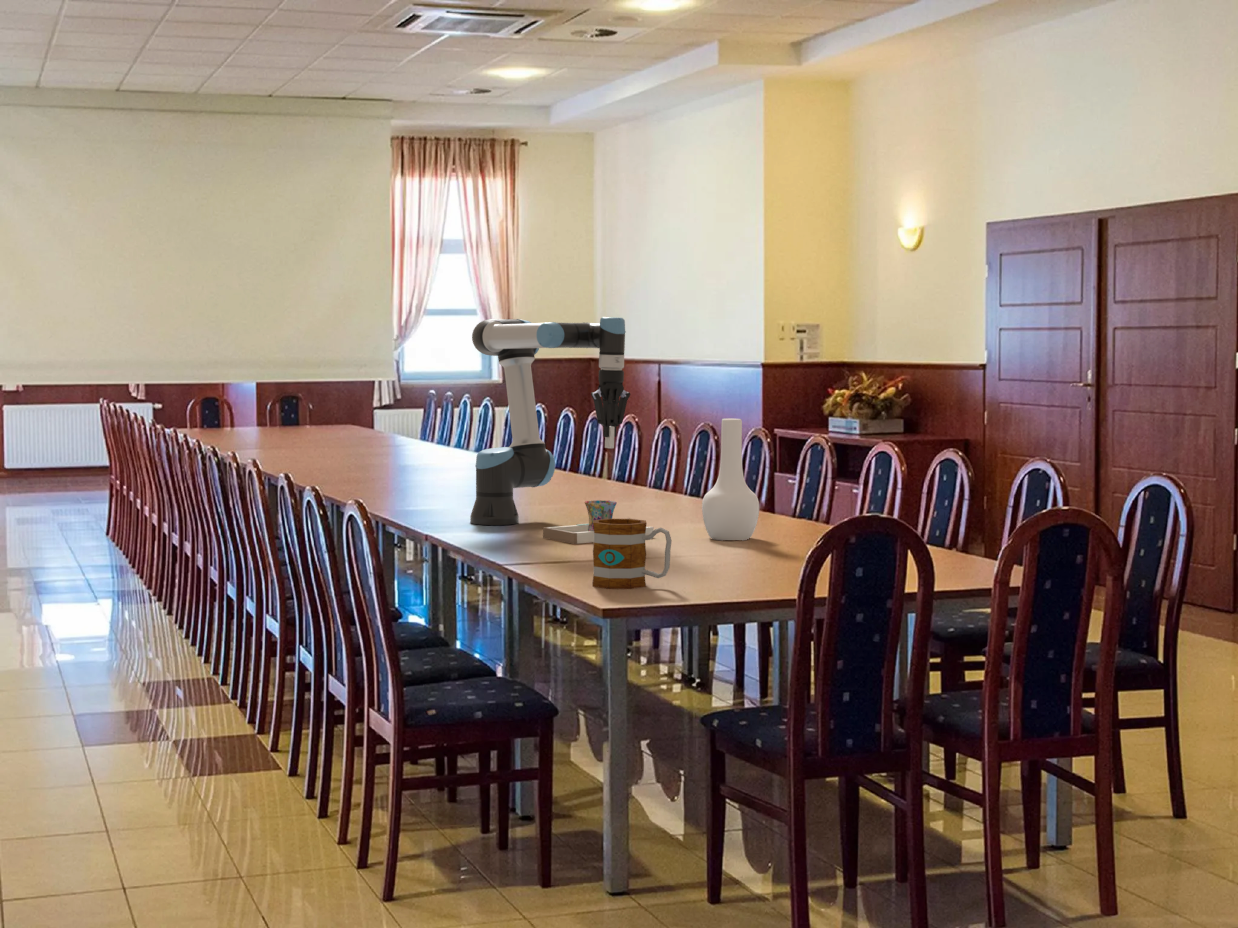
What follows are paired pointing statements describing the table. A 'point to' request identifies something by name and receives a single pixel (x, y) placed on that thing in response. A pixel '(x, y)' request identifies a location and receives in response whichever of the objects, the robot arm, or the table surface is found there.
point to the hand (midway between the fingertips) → (609, 447)
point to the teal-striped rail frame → (574, 533)
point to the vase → (730, 491)
